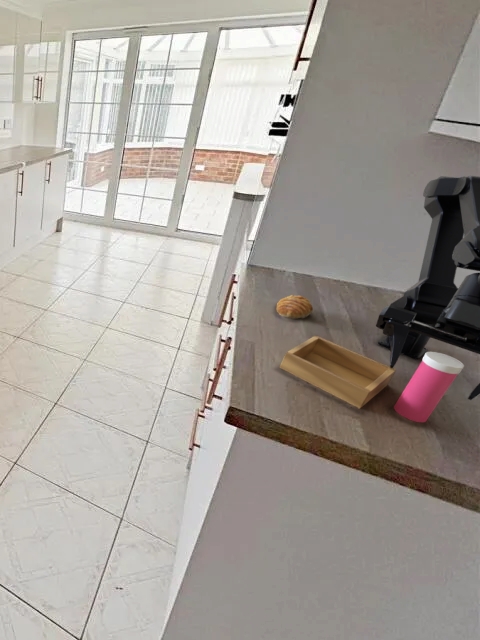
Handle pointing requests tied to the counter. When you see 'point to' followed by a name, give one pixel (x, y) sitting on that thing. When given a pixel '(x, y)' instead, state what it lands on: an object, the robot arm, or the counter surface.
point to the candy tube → (427, 386)
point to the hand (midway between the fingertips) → (428, 382)
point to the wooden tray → (337, 370)
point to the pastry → (294, 307)
